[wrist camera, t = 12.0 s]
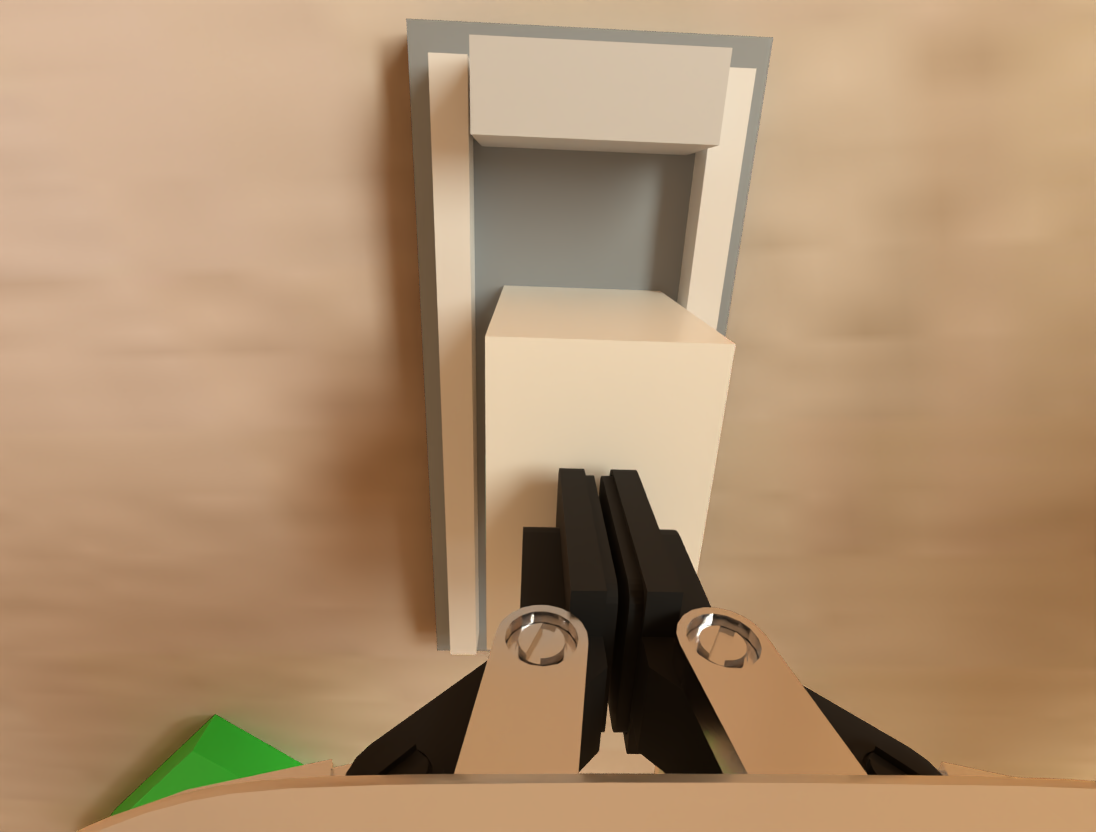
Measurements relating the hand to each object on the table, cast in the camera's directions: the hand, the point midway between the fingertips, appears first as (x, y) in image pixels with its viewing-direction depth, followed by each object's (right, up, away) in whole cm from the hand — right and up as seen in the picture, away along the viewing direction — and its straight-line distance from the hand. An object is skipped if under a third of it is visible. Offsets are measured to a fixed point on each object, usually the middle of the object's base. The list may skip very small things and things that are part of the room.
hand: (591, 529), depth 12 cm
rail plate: (0, +3, +8) cm, 9 cm away
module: (0, +3, +7) cm, 8 cm away
